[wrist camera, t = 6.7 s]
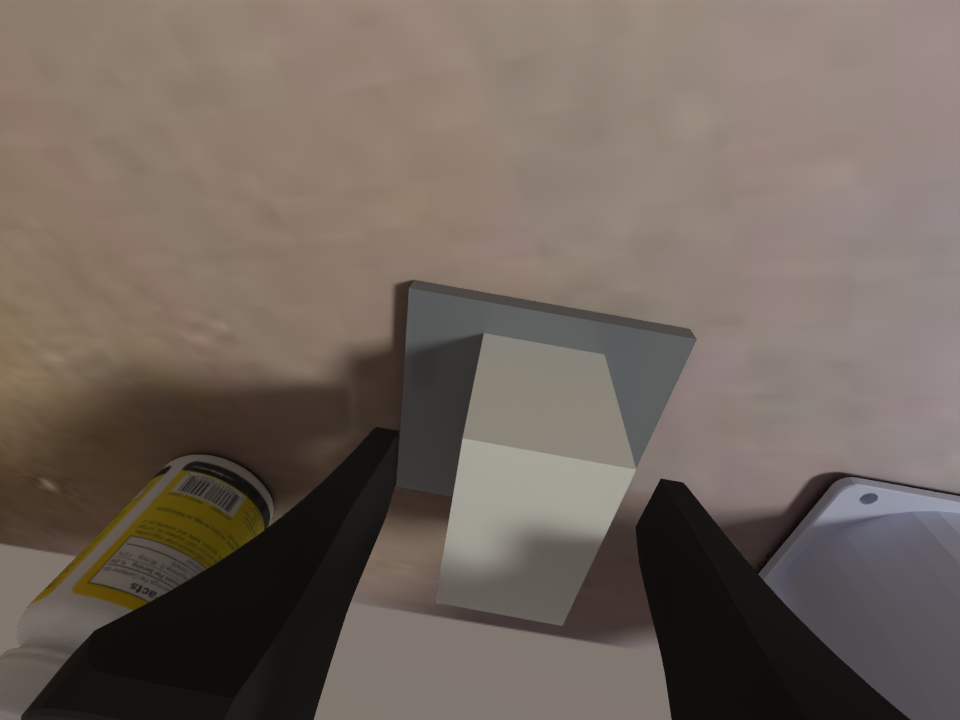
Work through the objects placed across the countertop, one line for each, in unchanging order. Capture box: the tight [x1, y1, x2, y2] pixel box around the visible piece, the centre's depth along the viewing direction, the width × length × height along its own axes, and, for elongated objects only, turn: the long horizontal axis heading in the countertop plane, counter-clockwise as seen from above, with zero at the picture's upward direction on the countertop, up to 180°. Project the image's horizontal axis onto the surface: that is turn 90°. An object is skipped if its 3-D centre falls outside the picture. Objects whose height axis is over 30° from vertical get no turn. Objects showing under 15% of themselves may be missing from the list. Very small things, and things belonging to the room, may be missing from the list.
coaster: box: [396, 280, 697, 497], centre depth 14 cm, size 8×8×1 cm
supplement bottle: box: [0, 455, 274, 720], centre depth 15 cm, size 5×5×8 cm
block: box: [435, 333, 636, 626], centre depth 13 cm, size 4×8×4 cm, turn 172°
